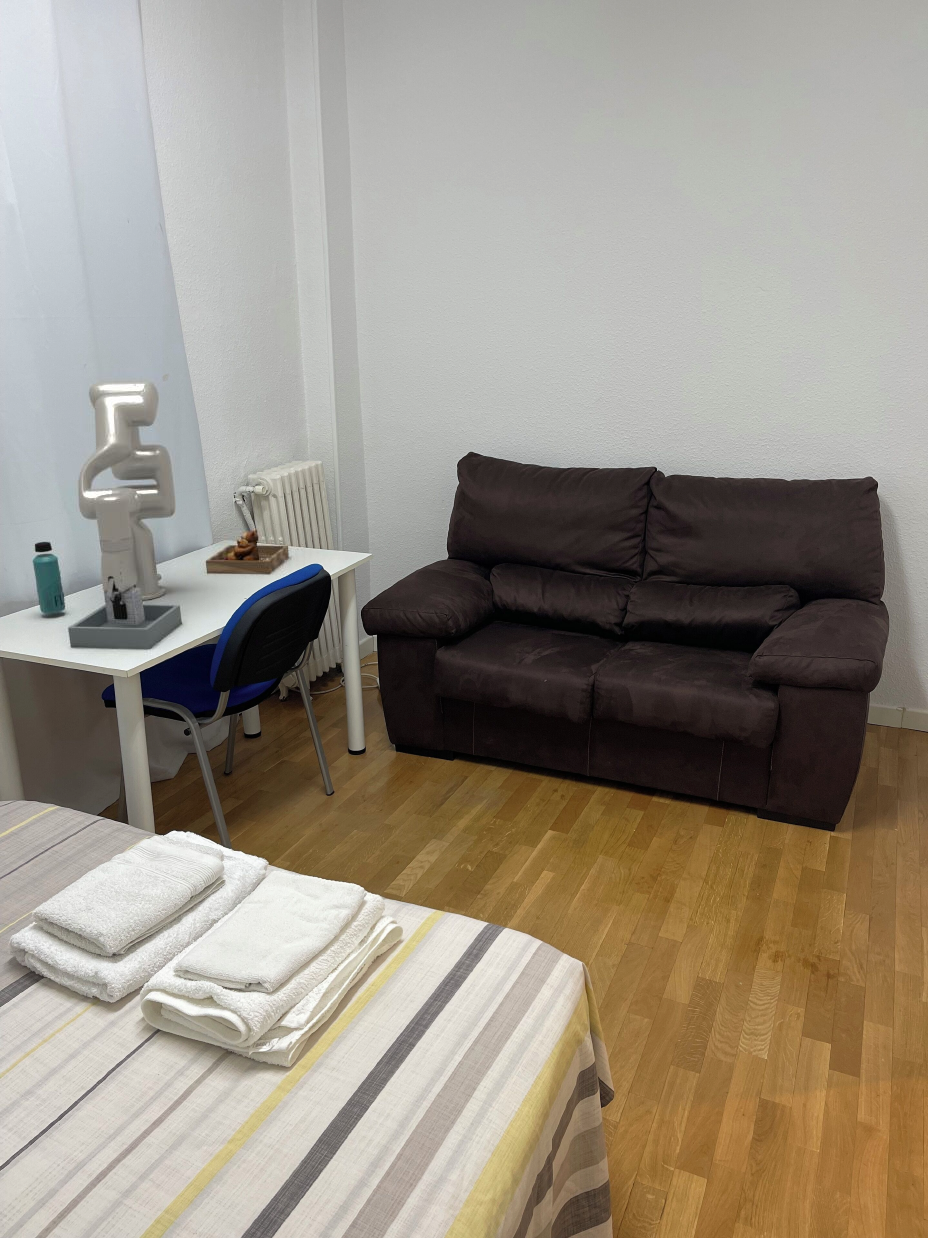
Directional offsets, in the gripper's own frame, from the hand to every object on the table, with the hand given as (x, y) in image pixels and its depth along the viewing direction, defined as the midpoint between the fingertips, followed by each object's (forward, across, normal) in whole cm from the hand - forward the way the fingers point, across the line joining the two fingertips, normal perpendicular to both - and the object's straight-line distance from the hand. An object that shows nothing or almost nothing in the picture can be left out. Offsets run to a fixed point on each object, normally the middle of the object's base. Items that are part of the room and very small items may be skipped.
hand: (125, 615), depth 241 cm
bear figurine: (+6, -67, +8) cm, 68 cm away
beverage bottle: (+6, -15, -28) cm, 32 cm away
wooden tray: (+6, -70, +8) cm, 70 cm away
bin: (+5, 0, 0) cm, 5 cm away
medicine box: (+2, 0, 0) cm, 2 cm away
